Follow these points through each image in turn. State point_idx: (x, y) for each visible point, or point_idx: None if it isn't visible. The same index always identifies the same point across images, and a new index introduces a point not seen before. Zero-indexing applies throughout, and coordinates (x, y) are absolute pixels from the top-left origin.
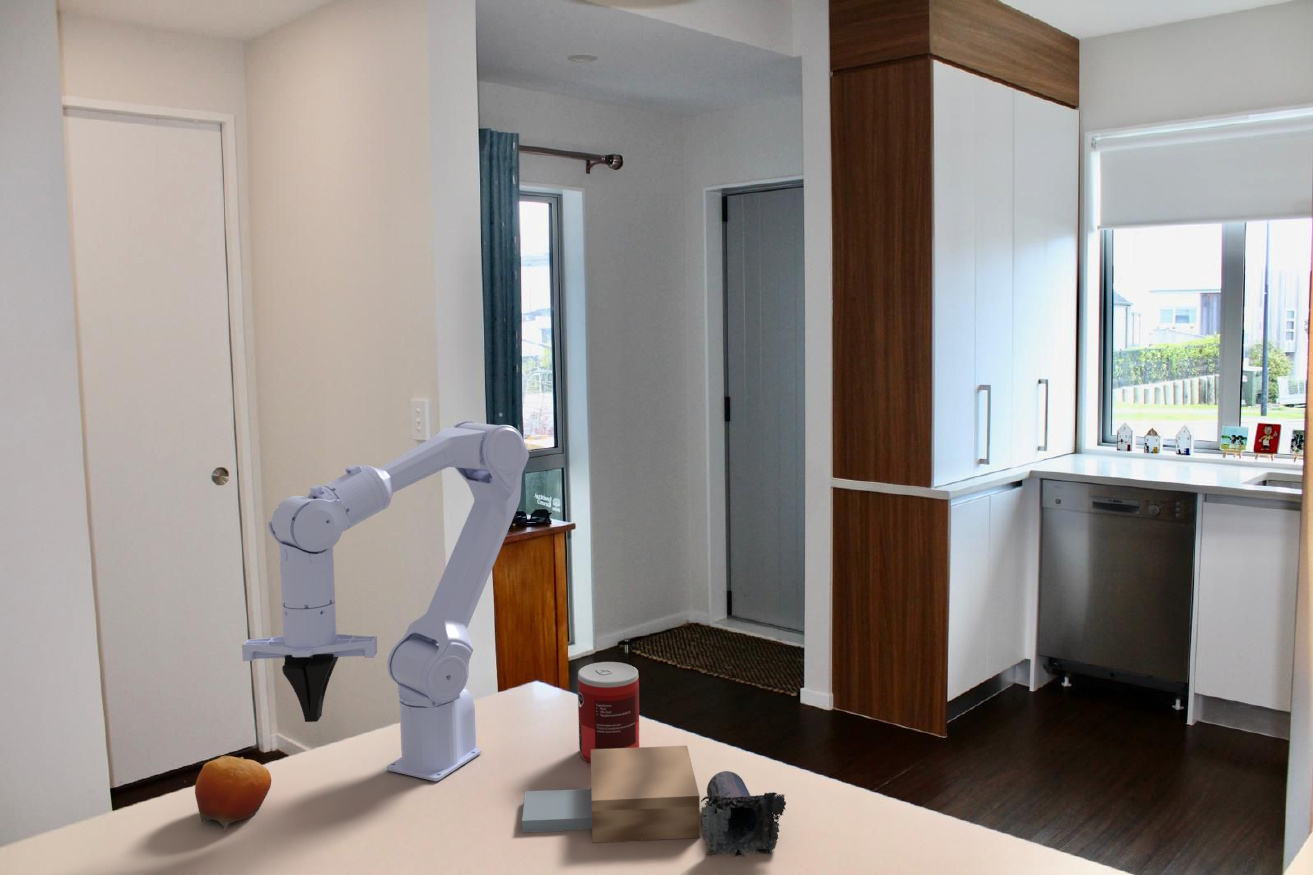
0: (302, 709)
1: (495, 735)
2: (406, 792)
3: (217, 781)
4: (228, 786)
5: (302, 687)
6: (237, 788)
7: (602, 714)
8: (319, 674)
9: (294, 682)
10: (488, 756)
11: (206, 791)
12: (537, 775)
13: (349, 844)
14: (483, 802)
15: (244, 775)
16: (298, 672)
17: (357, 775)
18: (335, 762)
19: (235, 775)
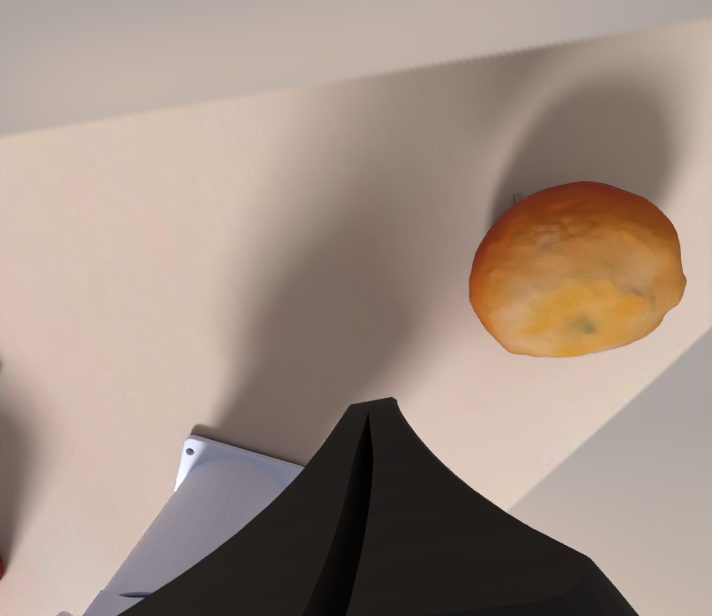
0: (400, 416)
1: None
2: (229, 393)
3: (596, 195)
4: (554, 197)
5: (391, 489)
6: (526, 206)
7: None
8: (195, 592)
9: (453, 508)
10: None
11: (611, 186)
12: (31, 475)
13: (232, 184)
14: (70, 372)
15: (529, 237)
16: (407, 590)
17: None
18: None
19: (554, 223)
